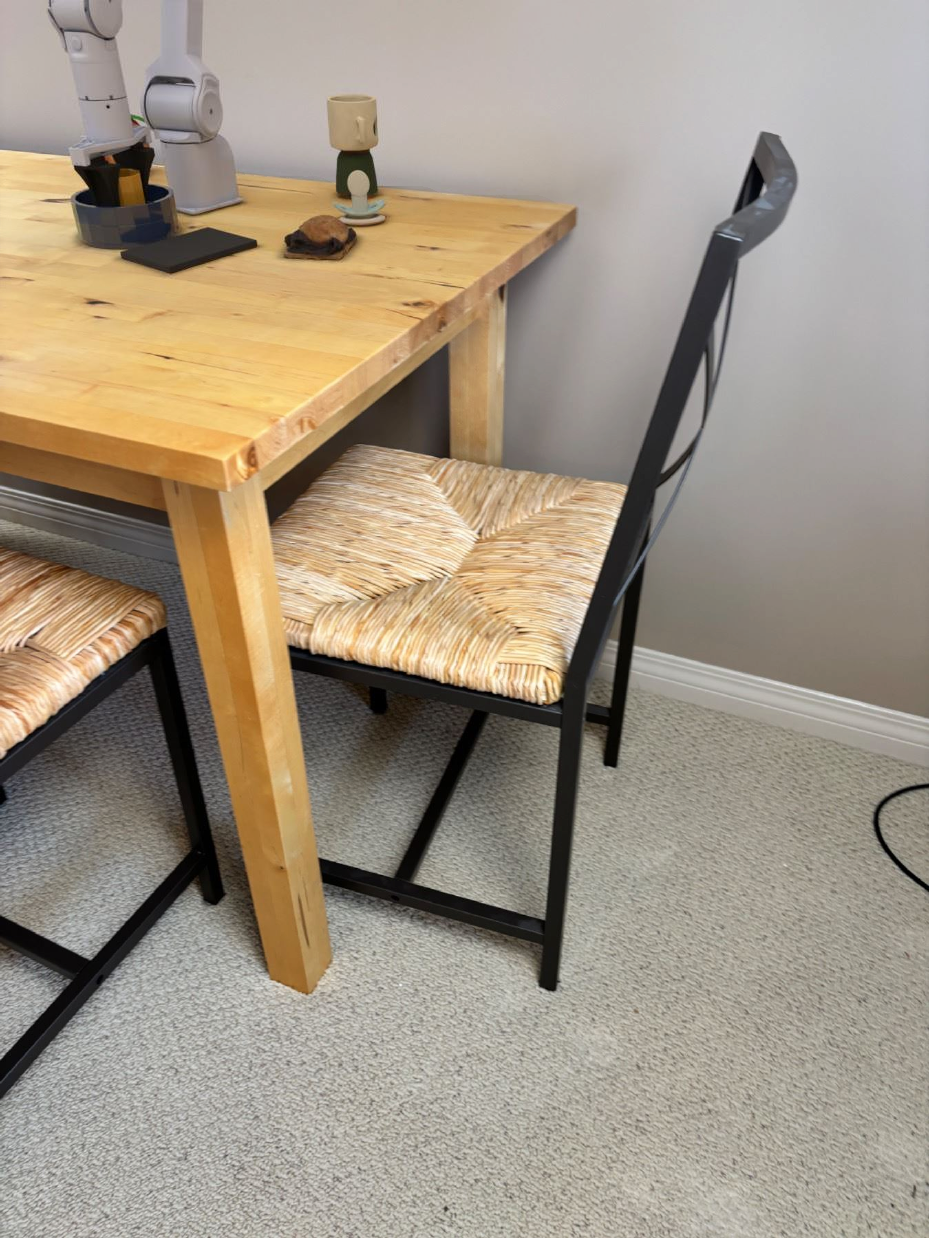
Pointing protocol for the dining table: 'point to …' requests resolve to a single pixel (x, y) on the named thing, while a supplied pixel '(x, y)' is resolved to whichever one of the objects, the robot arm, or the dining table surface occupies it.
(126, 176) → the cup
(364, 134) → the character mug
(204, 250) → the pot holder
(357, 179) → the pacifier
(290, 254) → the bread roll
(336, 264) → the dining table surface
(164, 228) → the pot
